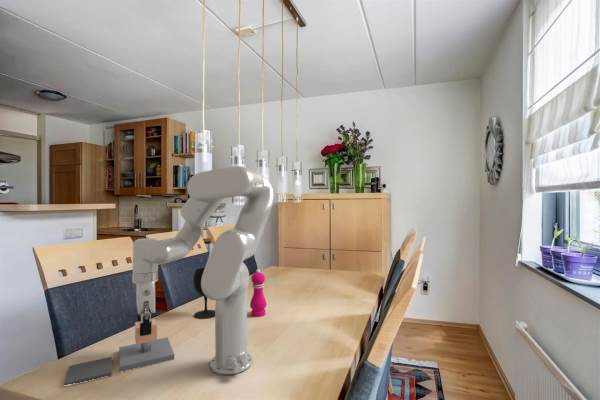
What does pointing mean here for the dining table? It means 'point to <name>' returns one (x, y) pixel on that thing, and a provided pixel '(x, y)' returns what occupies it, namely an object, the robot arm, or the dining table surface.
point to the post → (145, 347)
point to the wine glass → (197, 285)
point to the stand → (145, 354)
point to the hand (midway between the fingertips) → (144, 329)
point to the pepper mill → (258, 295)
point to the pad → (89, 370)
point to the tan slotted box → (146, 338)
